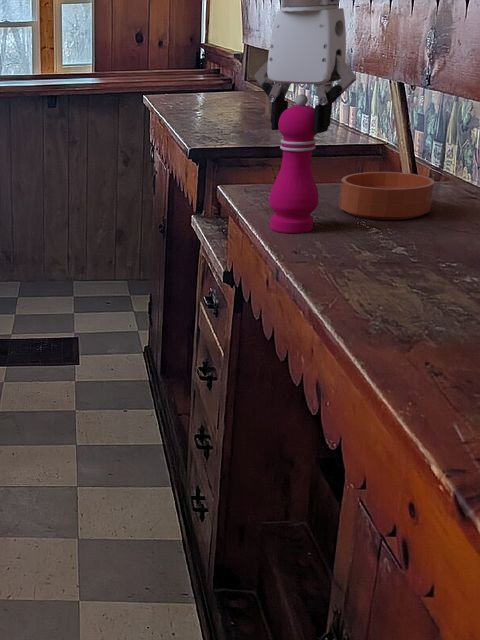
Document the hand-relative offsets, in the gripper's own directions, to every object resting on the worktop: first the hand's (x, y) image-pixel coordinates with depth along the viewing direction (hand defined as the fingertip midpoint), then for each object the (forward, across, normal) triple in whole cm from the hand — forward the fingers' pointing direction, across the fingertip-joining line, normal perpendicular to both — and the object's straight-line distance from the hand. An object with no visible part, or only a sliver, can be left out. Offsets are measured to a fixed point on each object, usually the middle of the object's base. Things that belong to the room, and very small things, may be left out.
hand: (299, 129), depth 128 cm
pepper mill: (+15, 0, 0) cm, 15 cm away
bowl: (+15, -6, -18) cm, 24 cm away
